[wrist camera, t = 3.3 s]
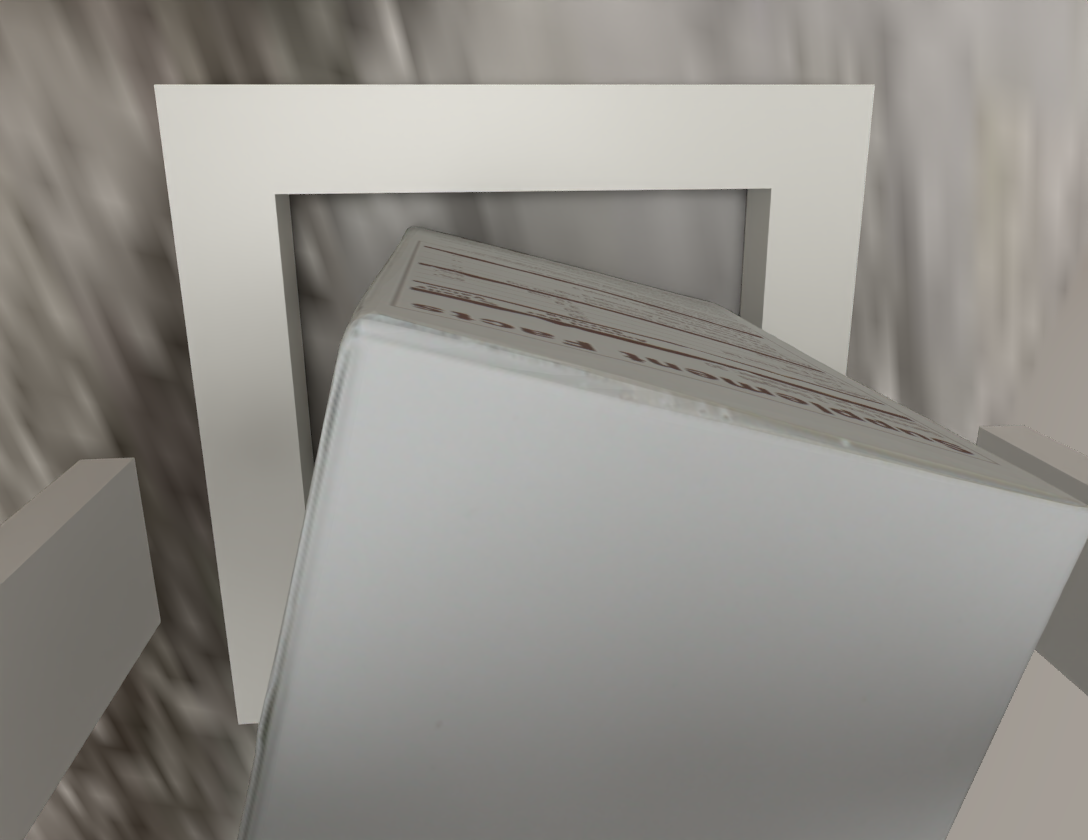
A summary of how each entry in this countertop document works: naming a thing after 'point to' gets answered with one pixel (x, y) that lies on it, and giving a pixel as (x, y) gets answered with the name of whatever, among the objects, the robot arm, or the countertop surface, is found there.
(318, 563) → the supplement box
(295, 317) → the white flat square frame
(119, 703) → the countertop surface
